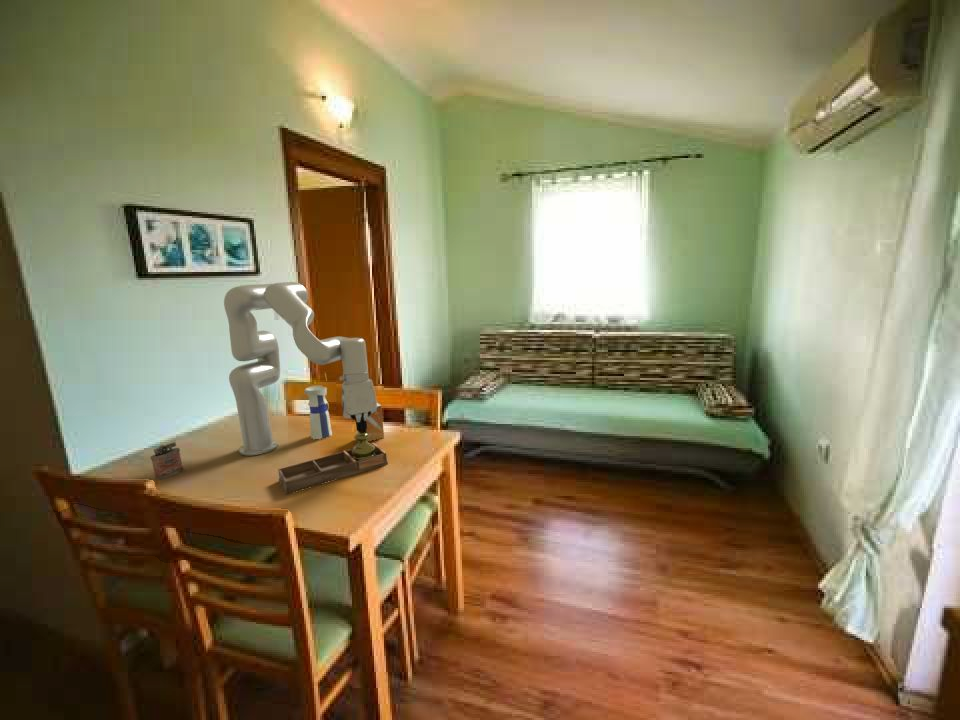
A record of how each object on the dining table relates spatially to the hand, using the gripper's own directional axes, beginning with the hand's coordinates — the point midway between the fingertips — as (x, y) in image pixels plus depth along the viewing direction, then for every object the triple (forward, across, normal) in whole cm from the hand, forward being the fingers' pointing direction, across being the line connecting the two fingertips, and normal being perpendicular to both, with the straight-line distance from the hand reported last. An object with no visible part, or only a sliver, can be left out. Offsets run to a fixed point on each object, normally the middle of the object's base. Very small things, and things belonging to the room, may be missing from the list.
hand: (362, 432), depth 141 cm
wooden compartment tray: (+11, -10, 0) cm, 15 cm away
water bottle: (+11, -4, +36) cm, 38 cm away
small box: (+11, +10, +20) cm, 25 cm away
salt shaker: (+10, 0, 0) cm, 10 cm away
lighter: (+11, -53, +35) cm, 64 cm away
